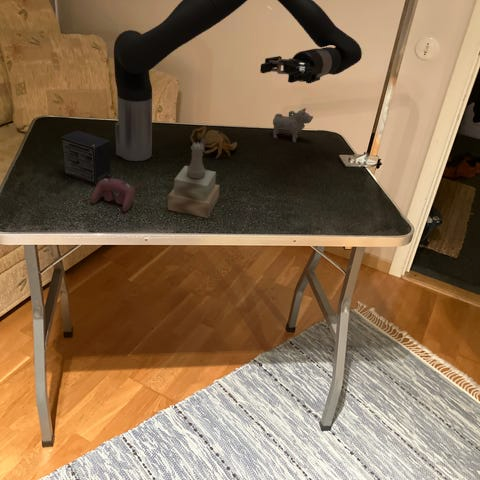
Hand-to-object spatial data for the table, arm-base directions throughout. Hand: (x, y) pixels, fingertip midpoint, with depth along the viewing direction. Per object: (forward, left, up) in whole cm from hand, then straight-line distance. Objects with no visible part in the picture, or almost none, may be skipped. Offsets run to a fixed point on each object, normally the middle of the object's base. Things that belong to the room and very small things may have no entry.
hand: (275, 73), depth 120 cm
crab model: (-17, +17, -30) cm, 39 cm away
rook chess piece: (-13, -18, -22) cm, 32 cm away
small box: (-43, -15, -30) cm, 55 cm away
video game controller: (-31, -26, -30) cm, 51 cm away
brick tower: (-13, -18, -30) cm, 38 cm away
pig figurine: (+3, +37, -30) cm, 48 cm away
